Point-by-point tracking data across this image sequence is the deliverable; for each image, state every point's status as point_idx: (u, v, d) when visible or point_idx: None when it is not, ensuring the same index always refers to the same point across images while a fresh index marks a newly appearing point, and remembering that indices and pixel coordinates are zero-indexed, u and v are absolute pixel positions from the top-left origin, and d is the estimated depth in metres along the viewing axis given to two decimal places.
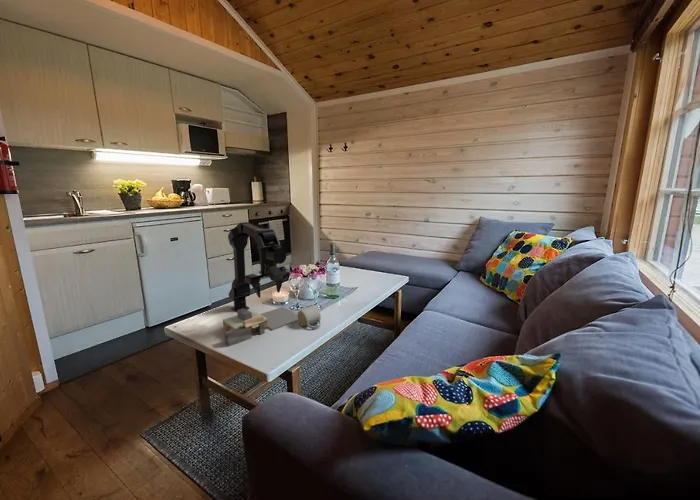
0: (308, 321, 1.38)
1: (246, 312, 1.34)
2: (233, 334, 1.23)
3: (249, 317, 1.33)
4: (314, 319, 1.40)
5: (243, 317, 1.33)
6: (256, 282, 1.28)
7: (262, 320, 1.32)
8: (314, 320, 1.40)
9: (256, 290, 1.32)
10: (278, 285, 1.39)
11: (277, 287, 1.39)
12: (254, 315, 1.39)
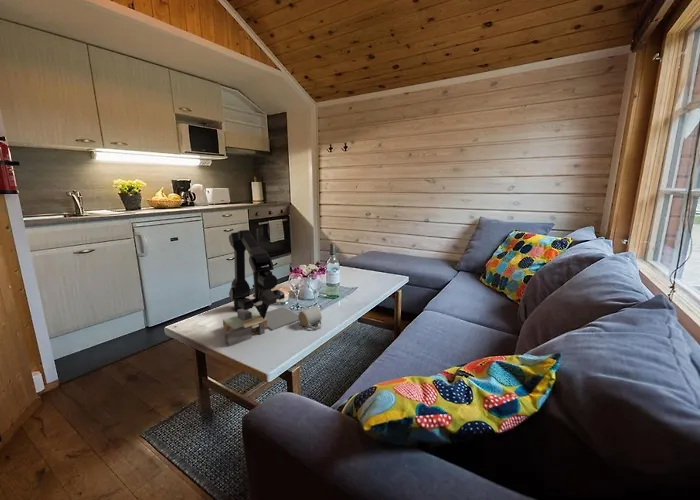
0: (309, 322, 1.37)
1: (246, 312, 1.34)
2: (233, 334, 1.23)
3: (249, 317, 1.33)
4: (315, 320, 1.39)
5: (243, 317, 1.33)
6: (250, 307, 1.25)
7: (261, 320, 1.32)
8: (315, 321, 1.39)
9: (260, 311, 1.32)
10: None
11: None
12: (254, 315, 1.39)
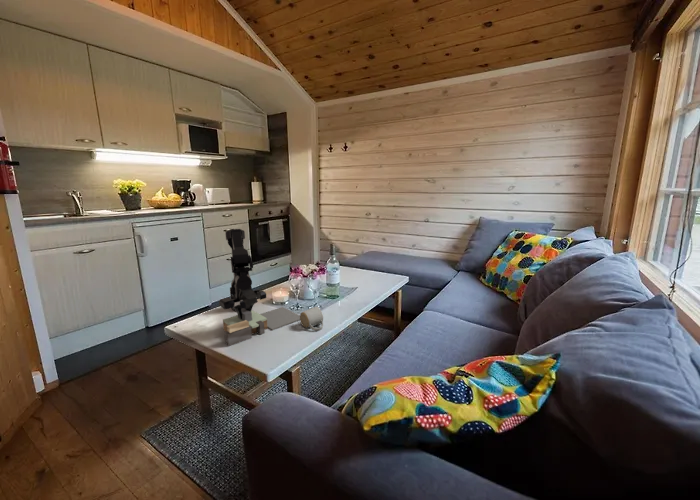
0: (310, 323, 1.36)
1: (246, 312, 1.34)
2: (233, 334, 1.23)
3: (249, 317, 1.33)
4: (316, 321, 1.38)
5: (243, 317, 1.33)
6: (230, 306, 1.27)
7: (247, 325, 1.27)
8: (316, 322, 1.38)
9: (238, 312, 1.33)
10: (248, 309, 1.36)
11: None
12: (254, 315, 1.39)
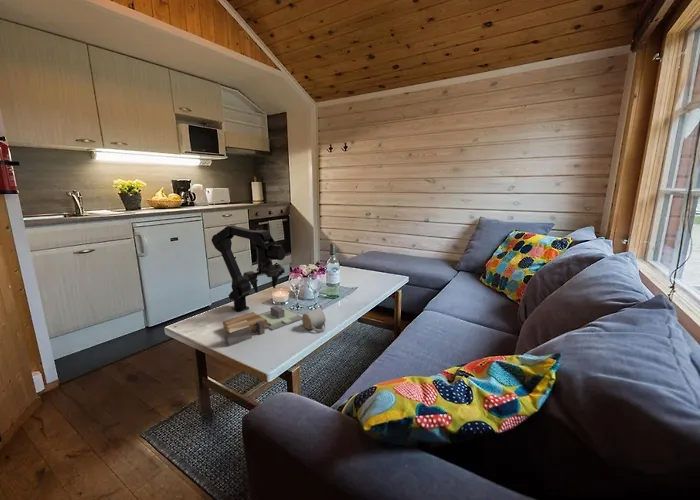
0: (313, 324, 1.35)
1: (279, 309, 1.46)
2: (233, 334, 1.23)
3: (282, 314, 1.45)
4: (319, 322, 1.36)
5: (276, 314, 1.45)
6: (254, 278, 1.42)
7: (247, 325, 1.27)
8: (319, 323, 1.37)
9: (254, 286, 1.46)
10: (274, 281, 1.53)
11: (273, 283, 1.53)
12: (285, 312, 1.51)
